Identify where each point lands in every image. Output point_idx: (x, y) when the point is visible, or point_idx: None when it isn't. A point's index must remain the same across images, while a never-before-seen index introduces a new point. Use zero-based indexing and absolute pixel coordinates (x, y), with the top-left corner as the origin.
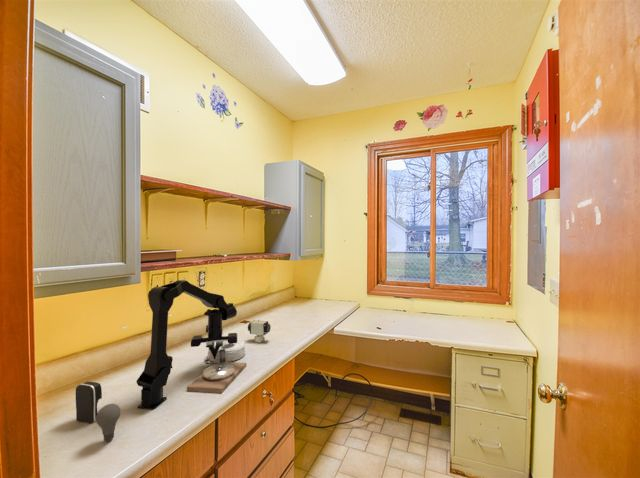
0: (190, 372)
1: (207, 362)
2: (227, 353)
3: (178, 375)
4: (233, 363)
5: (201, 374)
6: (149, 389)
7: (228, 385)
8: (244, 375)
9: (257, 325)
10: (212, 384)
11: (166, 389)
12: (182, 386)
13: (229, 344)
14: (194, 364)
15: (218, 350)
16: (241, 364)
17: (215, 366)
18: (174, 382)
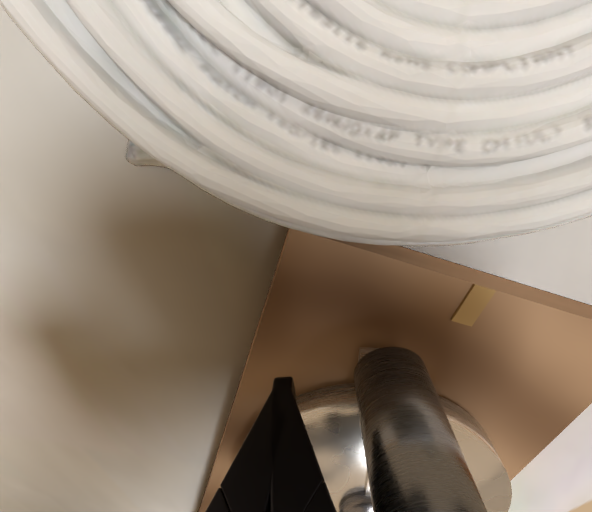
0: (83, 324)
1: (158, 164)
2: (481, 239)
3: (11, 352)
4: (504, 324)
5: (219, 450)
6: None
7: None
8: (552, 448)
9: None
10: None
11: (67, 485)
12: (144, 478)
13: None
14: (3, 141)
15: (293, 179)
16: (589, 364)
17: (324, 458)
18: (58, 433)
